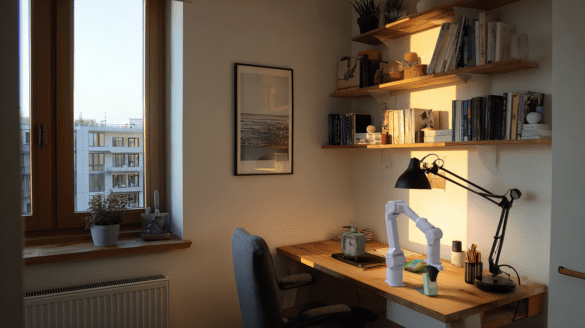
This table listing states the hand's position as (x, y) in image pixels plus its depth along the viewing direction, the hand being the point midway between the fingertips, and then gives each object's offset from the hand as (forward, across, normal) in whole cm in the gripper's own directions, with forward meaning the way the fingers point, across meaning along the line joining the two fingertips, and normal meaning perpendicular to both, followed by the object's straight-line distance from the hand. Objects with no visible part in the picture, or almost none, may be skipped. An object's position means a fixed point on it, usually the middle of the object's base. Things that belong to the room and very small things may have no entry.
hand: (432, 281), depth 199 cm
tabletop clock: (+8, +72, +16) cm, 74 cm away
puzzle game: (+8, +45, -15) cm, 48 cm away
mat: (+7, +9, 0) cm, 11 cm away
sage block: (+7, +1, 0) cm, 7 cm away
